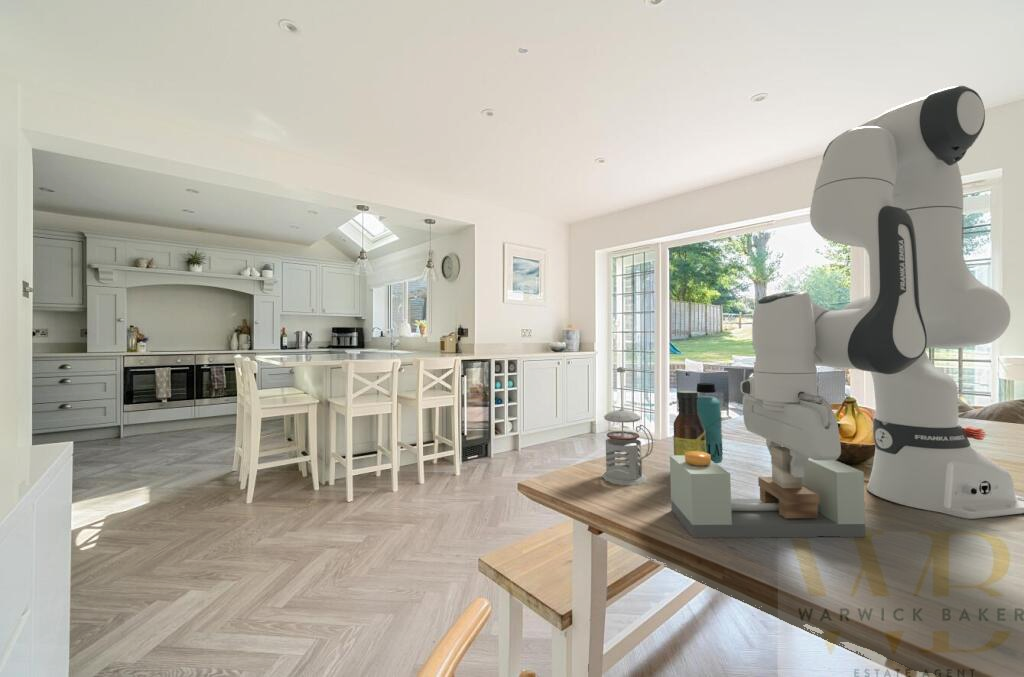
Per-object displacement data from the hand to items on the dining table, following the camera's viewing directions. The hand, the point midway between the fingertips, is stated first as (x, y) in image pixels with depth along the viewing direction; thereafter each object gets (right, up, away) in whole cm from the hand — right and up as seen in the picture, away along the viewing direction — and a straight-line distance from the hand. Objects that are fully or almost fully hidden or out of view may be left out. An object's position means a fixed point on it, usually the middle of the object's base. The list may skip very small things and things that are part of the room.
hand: (787, 471), depth 68 cm
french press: (-20, -9, +23) cm, 32 cm away
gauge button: (-14, -4, +1) cm, 15 cm away
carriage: (0, -6, 0) cm, 6 cm away
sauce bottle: (-8, -9, +17) cm, 21 cm away
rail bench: (-4, -9, 0) cm, 10 cm away
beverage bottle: (+1, -9, +30) cm, 31 cm away
